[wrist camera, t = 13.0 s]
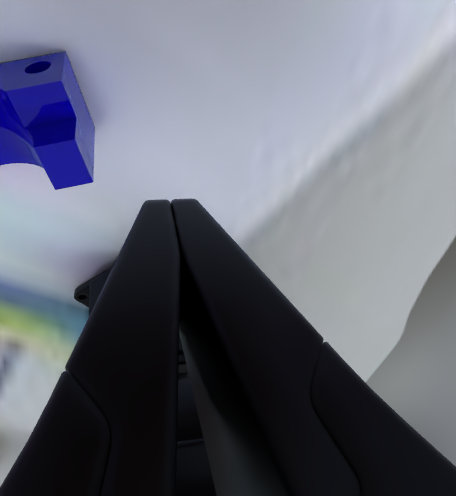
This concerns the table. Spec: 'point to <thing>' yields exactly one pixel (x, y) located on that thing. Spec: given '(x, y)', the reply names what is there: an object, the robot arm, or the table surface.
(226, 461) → the robot arm
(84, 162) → the cable holder
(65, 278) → the table surface
